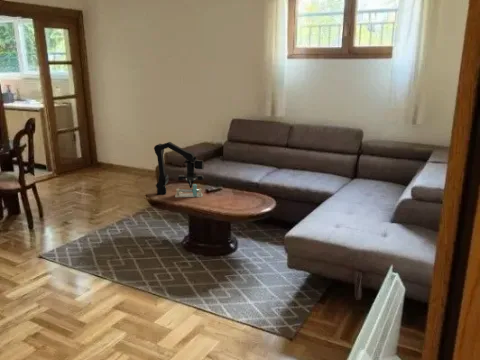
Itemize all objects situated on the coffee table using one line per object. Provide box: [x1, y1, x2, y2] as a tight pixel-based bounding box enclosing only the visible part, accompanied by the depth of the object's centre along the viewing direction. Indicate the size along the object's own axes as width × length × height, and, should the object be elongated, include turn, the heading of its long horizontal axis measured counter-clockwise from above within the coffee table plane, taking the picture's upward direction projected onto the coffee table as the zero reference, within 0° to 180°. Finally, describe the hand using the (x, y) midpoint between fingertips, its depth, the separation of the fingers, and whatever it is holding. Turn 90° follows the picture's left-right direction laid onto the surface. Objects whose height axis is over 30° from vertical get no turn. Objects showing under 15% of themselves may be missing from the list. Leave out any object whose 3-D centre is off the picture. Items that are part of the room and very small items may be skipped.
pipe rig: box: [174, 187, 204, 198], centre depth 323 cm, size 21×8×5 cm, turn 94°
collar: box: [192, 183, 198, 195], centre depth 322 cm, size 3×5×7 cm, turn 4°
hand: (190, 188), depth 322 cm, fingers closed
